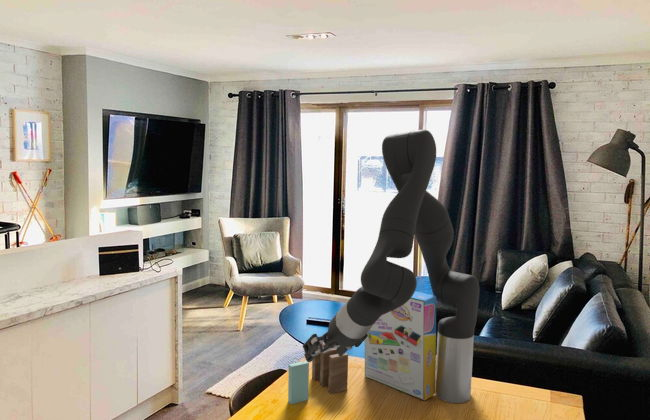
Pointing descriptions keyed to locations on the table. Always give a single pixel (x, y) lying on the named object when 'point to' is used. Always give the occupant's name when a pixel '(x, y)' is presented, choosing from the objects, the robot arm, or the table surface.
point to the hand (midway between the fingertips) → (323, 355)
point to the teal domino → (298, 382)
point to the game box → (405, 347)
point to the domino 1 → (316, 365)
